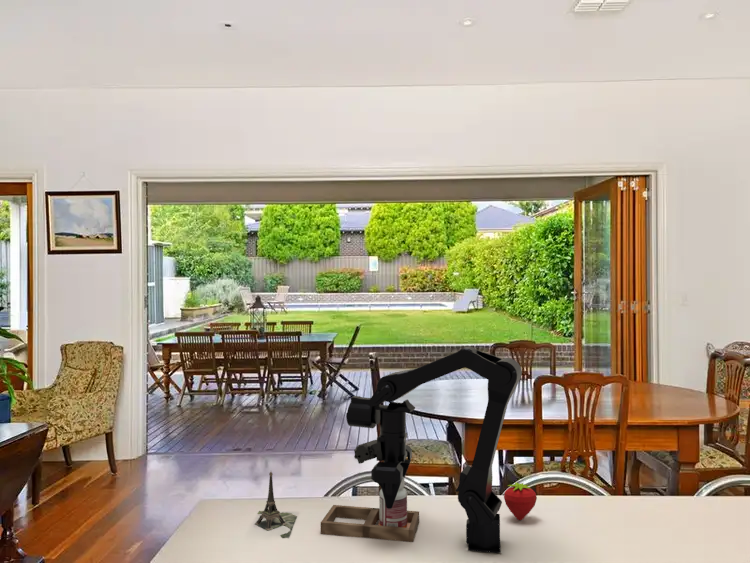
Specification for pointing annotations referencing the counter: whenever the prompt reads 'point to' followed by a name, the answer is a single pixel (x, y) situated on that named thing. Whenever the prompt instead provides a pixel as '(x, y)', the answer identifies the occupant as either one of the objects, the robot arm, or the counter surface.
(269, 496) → the eiffel tower figurine
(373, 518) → the caddy
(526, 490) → the strawberry
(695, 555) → the counter surface
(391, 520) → the pill bottle
